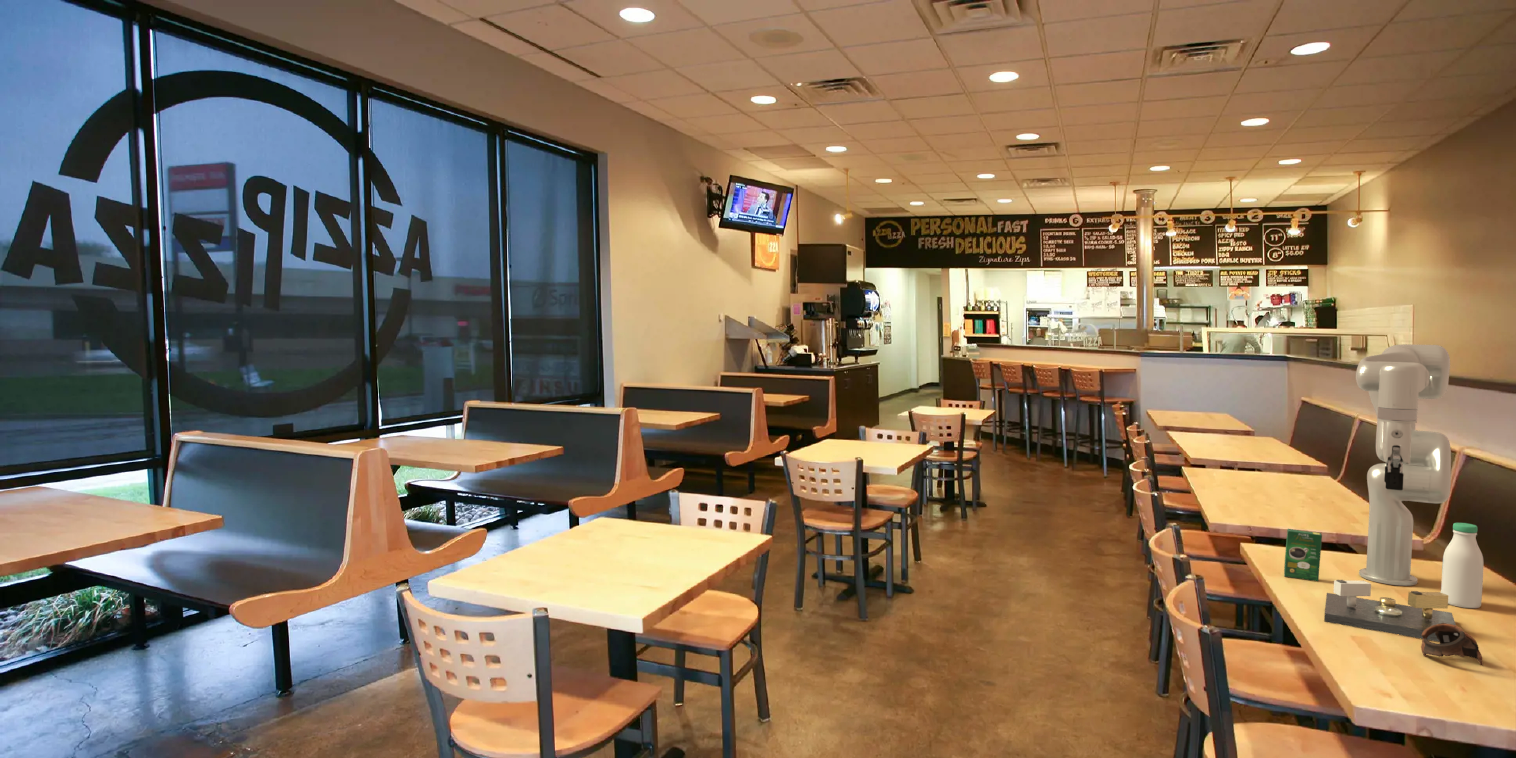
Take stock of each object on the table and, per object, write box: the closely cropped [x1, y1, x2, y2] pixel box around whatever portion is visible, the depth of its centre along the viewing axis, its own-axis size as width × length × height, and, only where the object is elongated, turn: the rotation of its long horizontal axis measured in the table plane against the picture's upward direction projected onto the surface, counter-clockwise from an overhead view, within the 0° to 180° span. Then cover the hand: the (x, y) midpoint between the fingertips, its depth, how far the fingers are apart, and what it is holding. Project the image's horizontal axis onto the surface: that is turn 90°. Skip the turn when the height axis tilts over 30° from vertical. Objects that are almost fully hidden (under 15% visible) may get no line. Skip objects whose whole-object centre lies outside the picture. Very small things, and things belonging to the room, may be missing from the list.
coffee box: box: [1283, 528, 1323, 582], centre depth 223 cm, size 8×3×13 cm, turn 58°
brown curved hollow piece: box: [1420, 623, 1484, 667], centre depth 170 cm, size 12×10×8 cm
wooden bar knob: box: [1407, 590, 1449, 619], centre depth 187 cm, size 7×2×6 cm, turn 88°
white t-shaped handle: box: [1333, 579, 1372, 607], centre depth 195 cm, size 7×2×6 cm, turn 89°
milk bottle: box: [1440, 522, 1484, 609], centre depth 203 cm, size 8×8×20 cm
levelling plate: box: [1323, 592, 1458, 643], centre depth 191 cm, size 18×24×4 cm
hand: (1393, 486), depth 197 cm, fingers open, 9 cm apart
